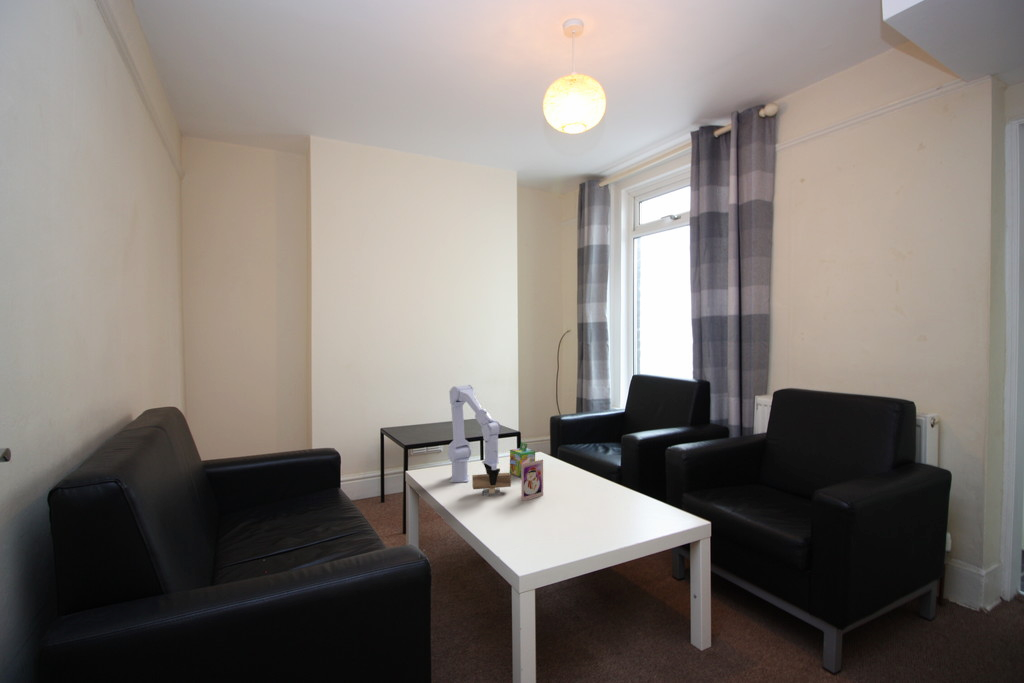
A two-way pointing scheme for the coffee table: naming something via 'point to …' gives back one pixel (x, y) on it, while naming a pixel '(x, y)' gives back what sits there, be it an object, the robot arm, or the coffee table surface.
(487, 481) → the batten
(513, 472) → the chalk box
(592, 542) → the coffee table surface
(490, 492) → the fulcrum
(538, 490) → the greeting card
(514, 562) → the coffee table surface
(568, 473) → the coffee table surface
